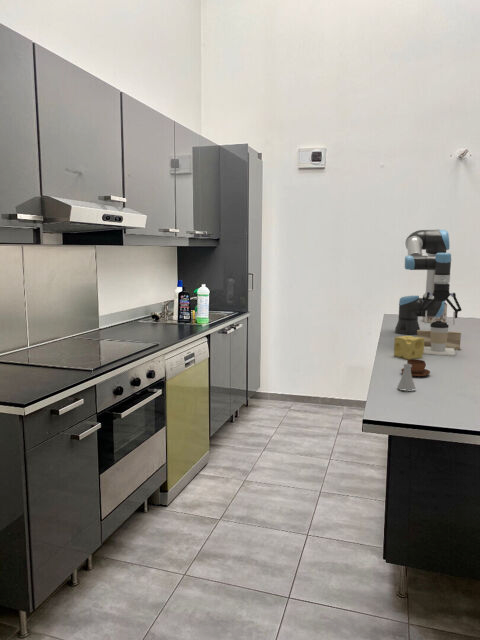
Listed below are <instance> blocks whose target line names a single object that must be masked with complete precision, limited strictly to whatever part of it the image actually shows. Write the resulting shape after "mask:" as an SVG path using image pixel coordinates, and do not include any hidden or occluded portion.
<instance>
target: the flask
mask: <svg viewBox="0 0 480 640" xmlns="http://www.w3.org/2000/svg"><path fill="white" fill-rule="evenodd" d="M402 366H403V368H404V371H403V372H402V376H401V377H400V380H399V383H398V385H397V387H398V388H399V389H406V390H412V389H416V385H415V382H414V379H413V376H412V375H411V367H412V365H411V364H407V363H403V365H402Z"/></svg>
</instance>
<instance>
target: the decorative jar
mask: <svg viewBox="0 0 480 640" xmlns="http://www.w3.org/2000/svg"><path fill="white" fill-rule="evenodd" d="M447 313H448V303H446V302H445V307H444V312H443V314H442V316H441V317H427V323H428V324H432V323H433V322H436V321H441V322H445V323H447V316H448V314H447ZM422 323H425V317H422ZM427 323H426V324H427Z"/></svg>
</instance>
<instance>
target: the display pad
mask: <svg viewBox="0 0 480 640" xmlns="http://www.w3.org/2000/svg"><path fill="white" fill-rule="evenodd" d="M423 355H436V356H437V355H439V356H452V357H456V350H455V349H454V348H445V351H441V352H440V351H432V350H431V347H426V346H424V351H423Z"/></svg>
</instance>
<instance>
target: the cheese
mask: <svg viewBox="0 0 480 640" xmlns="http://www.w3.org/2000/svg"><path fill="white" fill-rule="evenodd" d="M393 347H394V348H393V352H394V354H393V355H394V357H398V358H403V359H405V360H411V359H422V358H423V356H424V354H423V351H424V338H419V337H417V336H412V335H403V336H395V337H394V346H393Z"/></svg>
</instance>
